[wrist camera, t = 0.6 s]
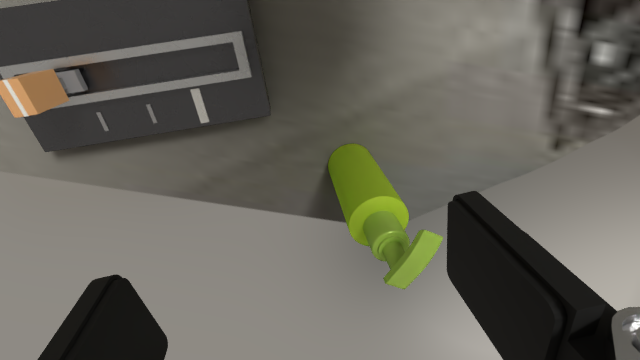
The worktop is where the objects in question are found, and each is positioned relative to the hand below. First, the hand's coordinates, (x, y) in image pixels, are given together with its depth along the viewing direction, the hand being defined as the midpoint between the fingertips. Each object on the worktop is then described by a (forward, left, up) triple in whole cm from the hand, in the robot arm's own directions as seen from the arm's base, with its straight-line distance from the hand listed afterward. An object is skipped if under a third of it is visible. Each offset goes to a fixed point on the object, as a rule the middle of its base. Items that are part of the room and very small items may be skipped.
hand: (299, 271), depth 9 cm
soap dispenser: (+12, +7, -30) cm, 33 cm away
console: (-3, -14, -30) cm, 33 cm away
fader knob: (-3, -20, -27) cm, 34 cm away
